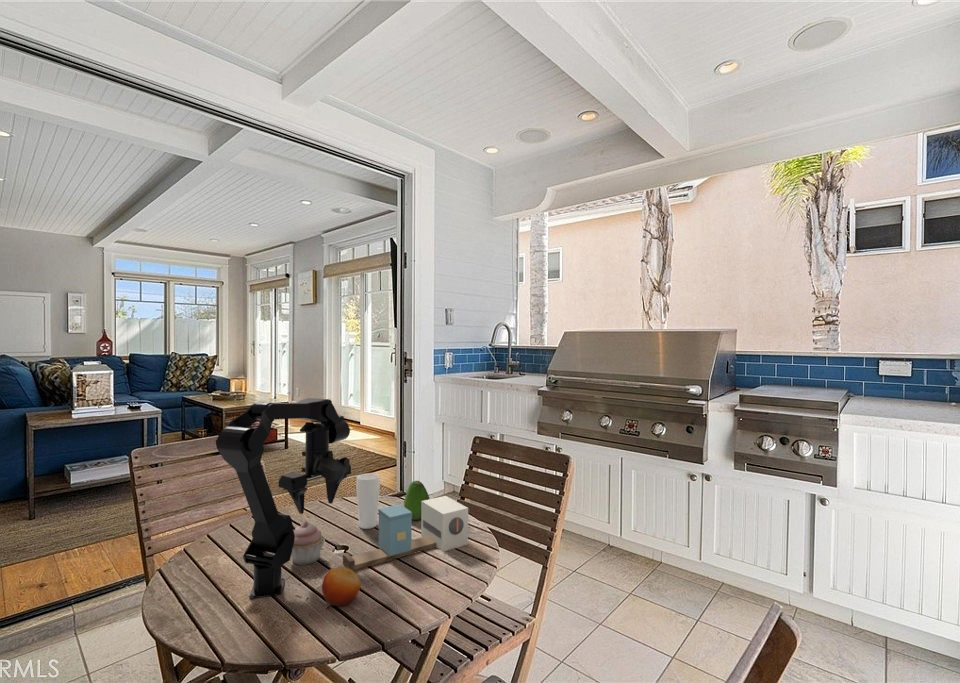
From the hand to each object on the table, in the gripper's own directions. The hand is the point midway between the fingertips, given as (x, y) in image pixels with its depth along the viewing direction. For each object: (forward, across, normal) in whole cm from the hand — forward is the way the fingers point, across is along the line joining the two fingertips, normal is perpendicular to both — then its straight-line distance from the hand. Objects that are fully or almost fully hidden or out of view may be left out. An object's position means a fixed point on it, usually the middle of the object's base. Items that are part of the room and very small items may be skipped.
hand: (316, 508), depth 123 cm
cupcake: (+13, -2, +1) cm, 13 cm away
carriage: (+11, +12, -16) cm, 23 cm away
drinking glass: (+12, +22, +3) cm, 26 cm away
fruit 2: (+12, +34, -6) cm, 37 cm away
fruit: (+13, -11, -21) cm, 27 cm away
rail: (+12, +11, -15) cm, 23 cm away
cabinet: (+12, +26, -22) cm, 36 cm away
